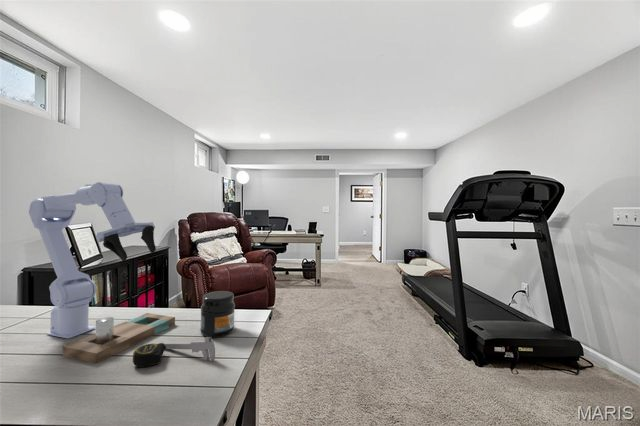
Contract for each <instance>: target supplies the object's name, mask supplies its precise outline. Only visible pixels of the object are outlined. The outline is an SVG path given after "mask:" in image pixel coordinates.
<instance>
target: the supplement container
mask: <svg viewBox="0 0 640 426" xmlns="http://www.w3.org/2000/svg"><path fill="white" fill-rule="evenodd" d="M234 296H235V295H234V293H233V292H232V291H228V290H226V291H225V290H217V291H216V290H215V291H211V292H206V293H205V294H204V295H202V304H201V306H200V333H201V335H202V336H205V337H208V338H209V337H211V338H220V337H224V336H228V335H229V334H231V333H232V332H233V330H235V307H236V304H235V302H234Z"/></svg>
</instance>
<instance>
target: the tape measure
mask: <svg viewBox="0 0 640 426" xmlns="http://www.w3.org/2000/svg"><path fill="white" fill-rule="evenodd" d="M165 350H167V349H166V346H165V345H164V343H161V342H159V343H147V344H143V345H141V346H138V347H137V348H136V349H134V351H133V352H132V353H133V354H132V363H133V365H134V366H136V367H139V368H145V367H150V366H154V365H158V364H159V363H161V361H162V358H163V355H164V352H165Z"/></svg>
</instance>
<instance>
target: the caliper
mask: <svg viewBox="0 0 640 426" xmlns="http://www.w3.org/2000/svg"><path fill="white" fill-rule="evenodd" d="M212 338H213V337H207V336H205V337H204V340H192V341H190V342H186V341H184V342H182V341H181V342H179V341H178V342H173V341H172V342H171V341H170V342H169V341H167V342H166V341H164V342H163V341H161V342H160V343H164V345H165V346H166V349H165V350H191V353H199V352H201V353H202V356H203V358H204V361H207V362H208V361H209V360H210V363H212V362H214V361H215V360H216V346H215V341H214V340H212Z"/></svg>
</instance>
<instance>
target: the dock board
mask: <svg viewBox="0 0 640 426" xmlns="http://www.w3.org/2000/svg"><path fill="white" fill-rule="evenodd" d="M175 325H176V317H175V316H169V315H163V314H157V313H149V312H147V313H144V314H141V315H138V316H136V317H134V318H132V319H128V320H125V321H124V322H121V323H119V324H116V325H114V331H113V340H112V341H110V342H107V343H105V344H103V345H100V344H95V341H96V332H95V333H93V334H90V335H88V336H85V337H83V338H80V339H78V340H75V341H73V342H70V343H68V344H65V345H62V356H63V357H67V358H70V359H76V360H80V361H84V362H89V363H93V364H98V363H99V362H102V361H104V360H106V359H108V358H110V357H112V356H114V355H116V354H118V353H120V352H122V351H124V350H126V349H128V348H130V347H132V346H134V345H136V344H139V343H140V342H142V341H145V340H147V339H148V338H151V337H152V336H155V335H156V334H159V333H160V332H162V331H164V330H167V329H168V328H171V327H173V326H175Z"/></svg>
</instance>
